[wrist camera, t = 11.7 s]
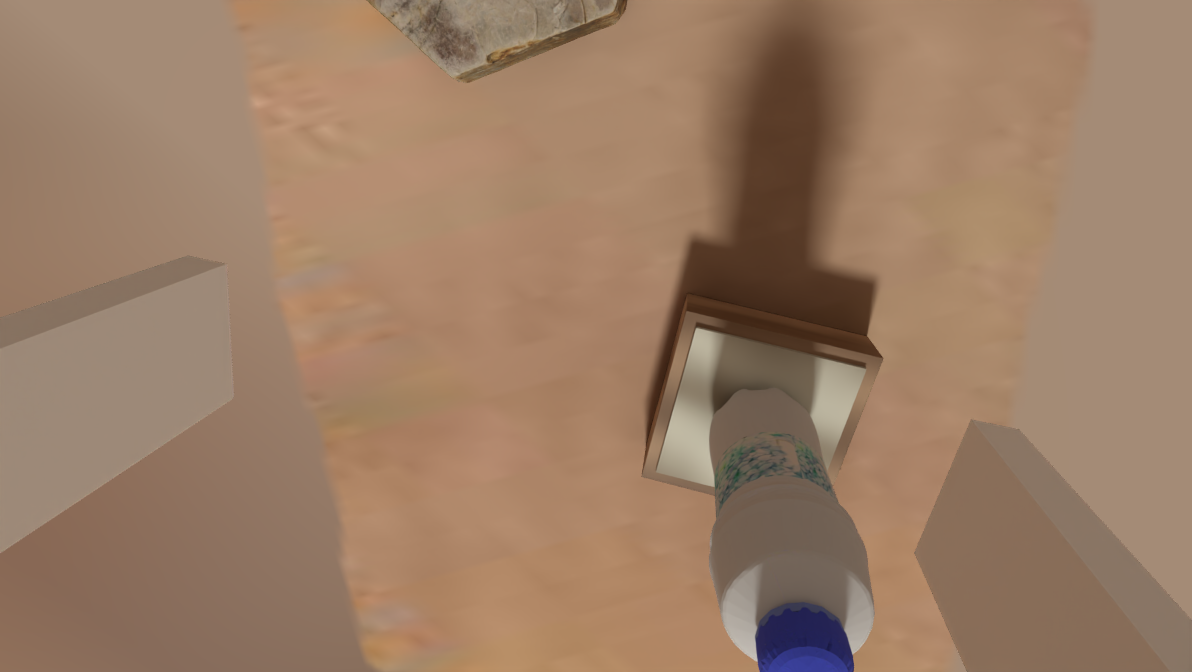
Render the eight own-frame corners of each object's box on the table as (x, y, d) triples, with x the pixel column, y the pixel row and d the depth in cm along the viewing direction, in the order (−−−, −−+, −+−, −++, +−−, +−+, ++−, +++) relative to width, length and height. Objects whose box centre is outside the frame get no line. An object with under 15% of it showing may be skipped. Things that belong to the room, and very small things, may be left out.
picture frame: (687, 293, 44) (686, 312, 40) (867, 336, 43) (885, 360, 39) (645, 447, 48) (641, 479, 44) (809, 489, 48) (819, 525, 43)
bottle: (790, 483, 43) (864, 779, 24) (690, 452, 43) (687, 720, 24) (831, 393, 40) (948, 644, 22) (725, 360, 41) (751, 580, 22)
